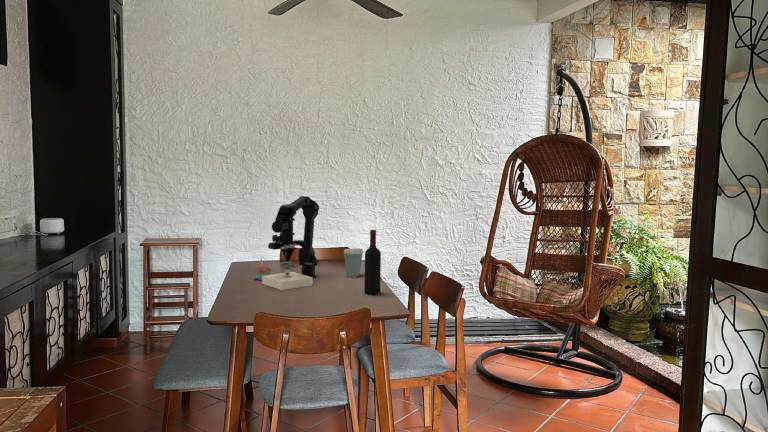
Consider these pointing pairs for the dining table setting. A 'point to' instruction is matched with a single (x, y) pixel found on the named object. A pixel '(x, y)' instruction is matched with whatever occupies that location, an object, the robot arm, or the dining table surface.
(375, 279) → the wine bottle
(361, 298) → the dining table surface
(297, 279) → the block
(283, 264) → the plunger
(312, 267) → the robot arm
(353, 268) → the disposable coffee cup
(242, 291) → the dining table surface
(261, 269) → the cupcake
